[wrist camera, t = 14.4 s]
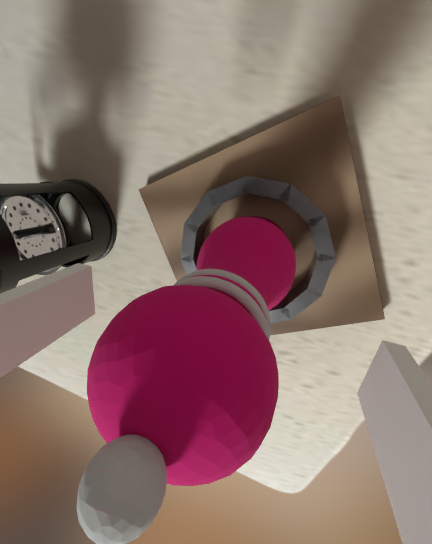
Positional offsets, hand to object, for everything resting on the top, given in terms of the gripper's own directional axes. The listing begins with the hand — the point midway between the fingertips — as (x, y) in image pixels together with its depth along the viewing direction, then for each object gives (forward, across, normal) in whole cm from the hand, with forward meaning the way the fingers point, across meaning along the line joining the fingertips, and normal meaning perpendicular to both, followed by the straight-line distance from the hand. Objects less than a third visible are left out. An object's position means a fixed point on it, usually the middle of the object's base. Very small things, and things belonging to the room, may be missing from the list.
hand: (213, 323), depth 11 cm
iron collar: (+13, 0, 0) cm, 13 cm away
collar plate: (+14, 0, 0) cm, 14 cm away
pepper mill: (+13, 0, 0) cm, 13 cm away
